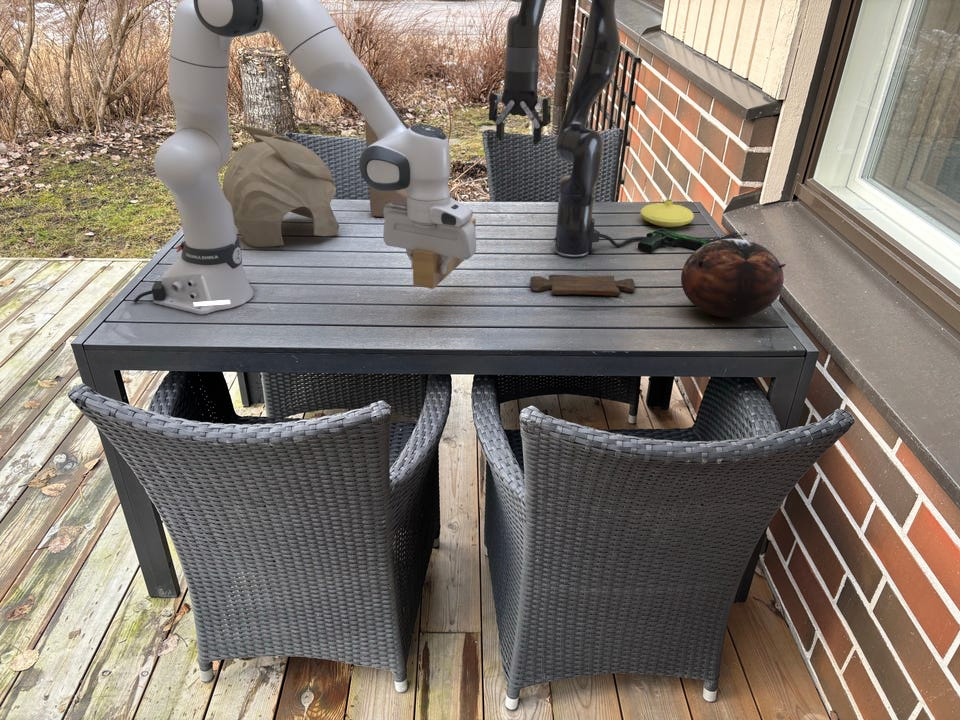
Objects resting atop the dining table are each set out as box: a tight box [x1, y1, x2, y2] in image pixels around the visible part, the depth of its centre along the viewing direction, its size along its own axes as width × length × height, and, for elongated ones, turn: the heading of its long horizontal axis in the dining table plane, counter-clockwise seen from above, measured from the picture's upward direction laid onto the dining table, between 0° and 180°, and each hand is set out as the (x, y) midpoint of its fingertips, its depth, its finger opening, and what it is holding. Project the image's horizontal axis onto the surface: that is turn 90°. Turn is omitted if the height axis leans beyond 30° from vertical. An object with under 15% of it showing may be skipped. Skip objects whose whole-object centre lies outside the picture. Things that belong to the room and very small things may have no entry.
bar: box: [412, 217, 476, 290], centre depth 160 cm, size 24×5×8 cm, turn 159°
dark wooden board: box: [529, 274, 635, 297], centre depth 175 cm, size 26×2×10 cm
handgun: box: [637, 227, 709, 254], centre depth 199 cm, size 16×3×15 cm
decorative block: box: [364, 119, 407, 218], centre depth 212 cm, size 8×15×30 cm, turn 82°
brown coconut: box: [680, 238, 787, 319], centre depth 162 cm, size 22×18×20 cm
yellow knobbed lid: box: [640, 198, 695, 228], centre depth 215 cm, size 16×16×7 cm
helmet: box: [222, 125, 340, 248], centre depth 196 cm, size 27×30×30 cm
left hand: (429, 270), depth 153 cm, fingers closed on bar, 5 cm apart
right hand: (518, 142), depth 167 cm, fingers open, 8 cm apart
